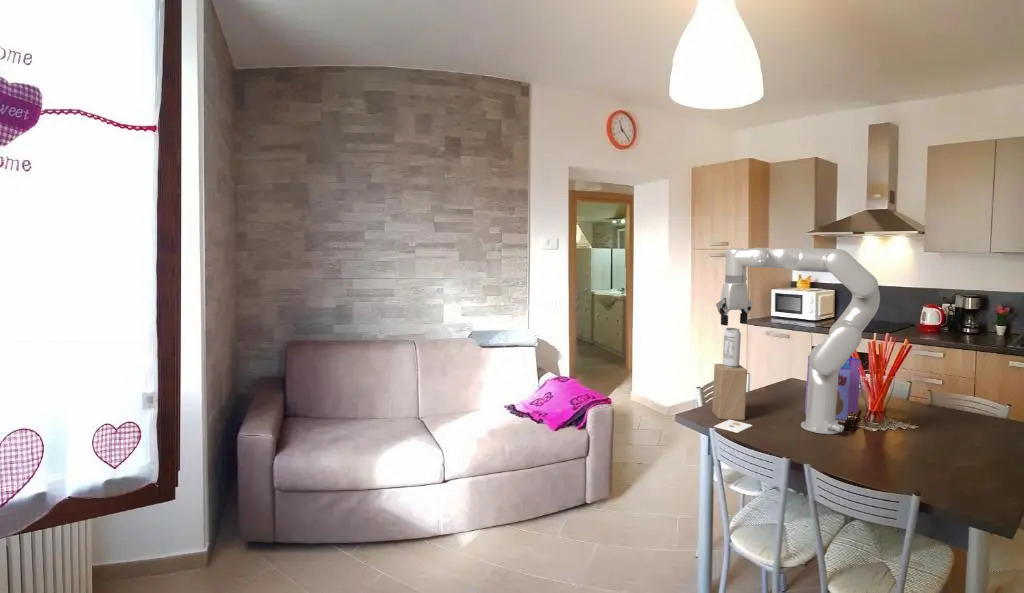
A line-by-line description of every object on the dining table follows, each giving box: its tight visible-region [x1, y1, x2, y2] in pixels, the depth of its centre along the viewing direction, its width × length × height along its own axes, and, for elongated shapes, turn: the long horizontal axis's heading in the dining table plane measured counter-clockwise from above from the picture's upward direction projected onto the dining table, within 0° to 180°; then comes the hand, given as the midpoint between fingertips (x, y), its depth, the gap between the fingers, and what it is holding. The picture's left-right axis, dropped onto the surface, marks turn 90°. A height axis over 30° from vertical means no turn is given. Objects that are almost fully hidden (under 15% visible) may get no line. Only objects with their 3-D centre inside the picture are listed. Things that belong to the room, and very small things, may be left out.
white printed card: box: [713, 419, 753, 434], centre depth 213 cm, size 9×12×1 cm
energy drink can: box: [722, 327, 742, 368], centre depth 222 cm, size 6×6×15 cm
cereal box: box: [804, 355, 862, 421], centre depth 225 cm, size 17×5×24 cm, turn 76°
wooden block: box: [711, 363, 748, 421], centre depth 224 cm, size 10×10×20 cm
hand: (734, 324), depth 221 cm, fingers open, 9 cm apart
